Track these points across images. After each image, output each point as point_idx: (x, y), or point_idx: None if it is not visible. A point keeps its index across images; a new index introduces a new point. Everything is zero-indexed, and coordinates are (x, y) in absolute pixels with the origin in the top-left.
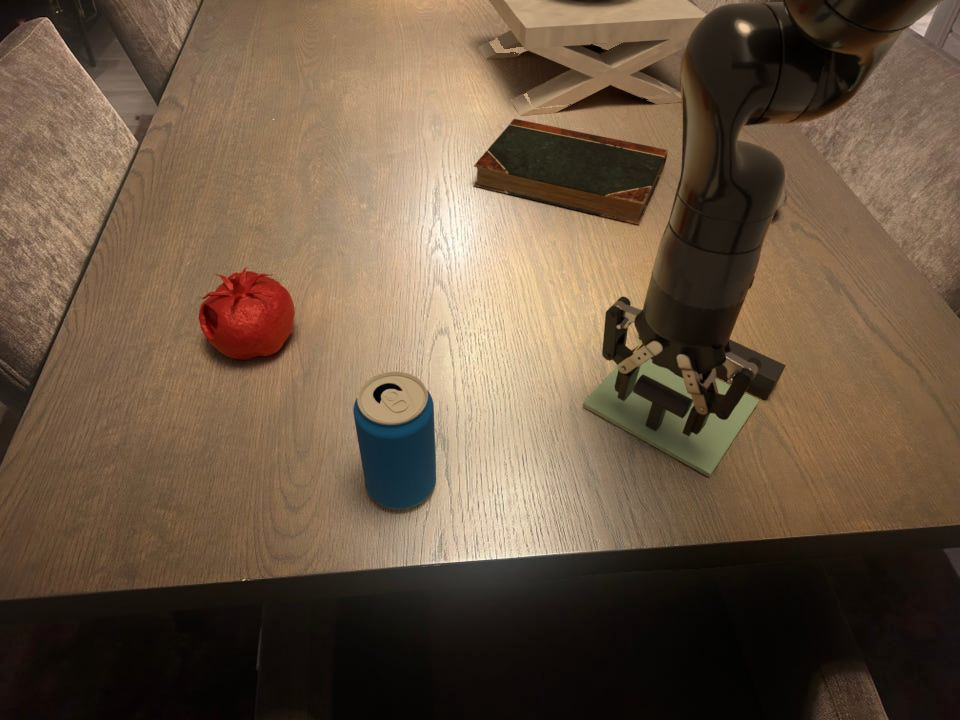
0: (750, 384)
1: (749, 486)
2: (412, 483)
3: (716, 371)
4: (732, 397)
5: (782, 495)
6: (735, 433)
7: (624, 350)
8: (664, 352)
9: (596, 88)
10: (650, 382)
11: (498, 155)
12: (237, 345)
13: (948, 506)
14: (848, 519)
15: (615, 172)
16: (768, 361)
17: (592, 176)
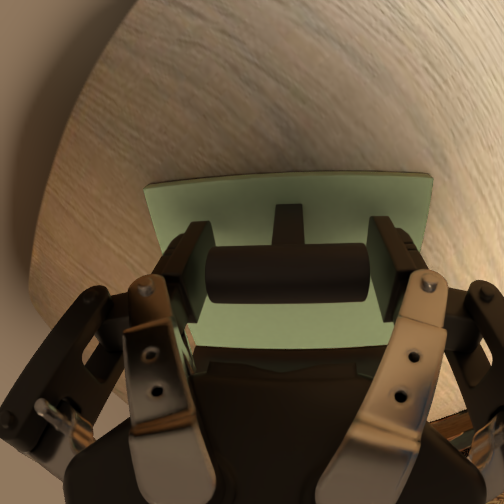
0: (218, 359)
1: (108, 215)
2: None
3: (269, 356)
4: (49, 355)
5: (81, 232)
6: None
7: (447, 336)
8: (314, 448)
9: (468, 458)
10: (334, 290)
11: None
12: None
13: (36, 310)
14: (41, 251)
15: (455, 444)
16: None
17: (474, 434)
